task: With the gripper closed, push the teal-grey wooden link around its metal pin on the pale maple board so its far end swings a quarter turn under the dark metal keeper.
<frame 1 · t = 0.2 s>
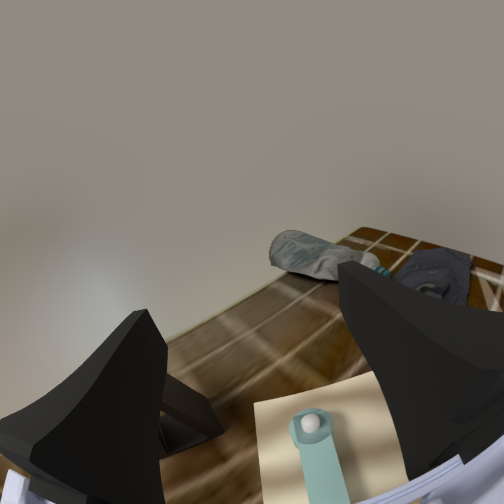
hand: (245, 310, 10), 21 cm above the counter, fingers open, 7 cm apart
link: (324, 480, 15), point 3 cm above the counter, hinge at 90.0°
dark grey cloth: (430, 292, 37), on the counter
phone stand: (182, 430, 26), on the counter
keeper board: (378, 458, 17), on the counter
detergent: (329, 277, 48), on the counter
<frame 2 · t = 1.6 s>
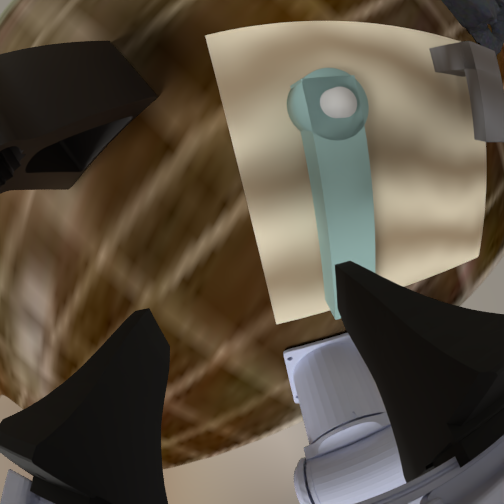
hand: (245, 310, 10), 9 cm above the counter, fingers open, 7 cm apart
link: (345, 203, 15), point 3 cm above the counter, hinge at 90.0°
phone stand: (87, 114, 14), on the counter
keeper board: (392, 162, 17), on the counter
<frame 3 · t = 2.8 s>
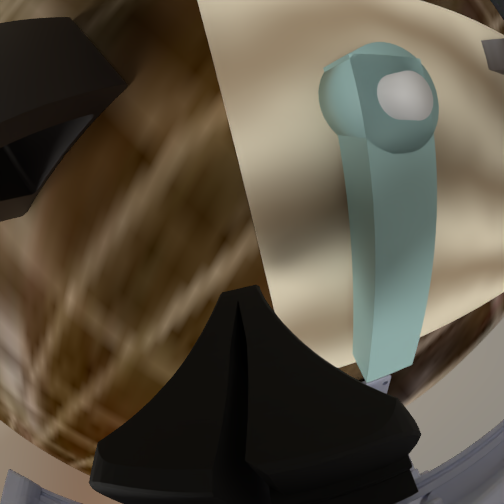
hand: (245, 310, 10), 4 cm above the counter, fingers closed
link: (398, 244, 10), point 3 cm above the counter, hinge at 90.0°
phone stand: (40, 116, 9), on the counter
keeper board: (443, 180, 12), on the counter
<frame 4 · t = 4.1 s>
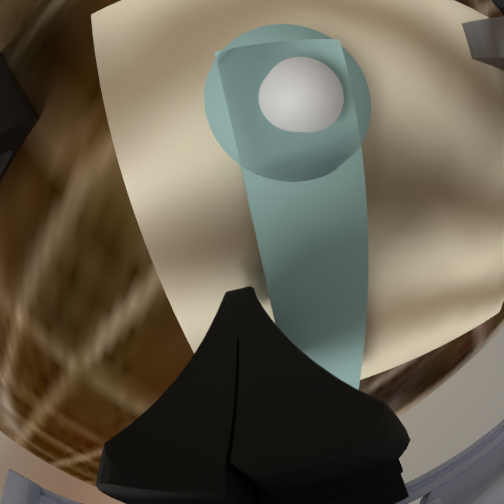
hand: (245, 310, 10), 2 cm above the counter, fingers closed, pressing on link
link: (316, 292, 9), point 3 cm above the counter, hinge at 89.9°, touching gripper
keeper board: (405, 199, 11), on the counter
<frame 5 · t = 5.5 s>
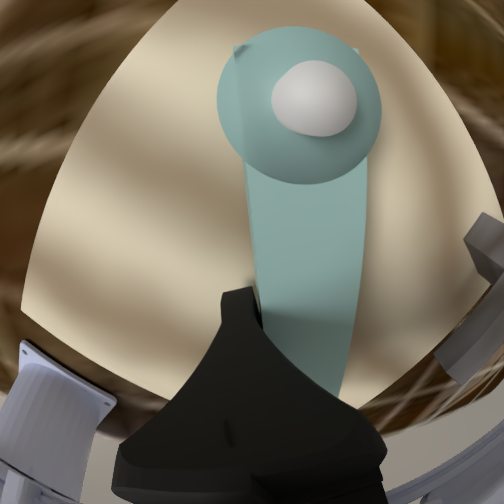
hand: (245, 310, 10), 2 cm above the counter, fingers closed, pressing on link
link: (306, 297, 9), point 3 cm above the counter, hinge at 44.9°, touching gripper
keeper board: (304, 279, 12), on the counter
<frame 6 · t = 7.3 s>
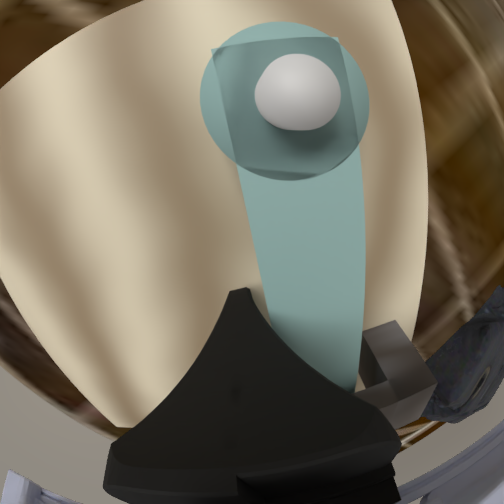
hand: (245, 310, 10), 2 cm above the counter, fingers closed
link: (312, 293, 8), point 3 cm above the counter, hinge at 1.6°, touching gripper
dark grey cloth: (467, 367, 20), on the counter
keeper board: (189, 270, 11), on the counter
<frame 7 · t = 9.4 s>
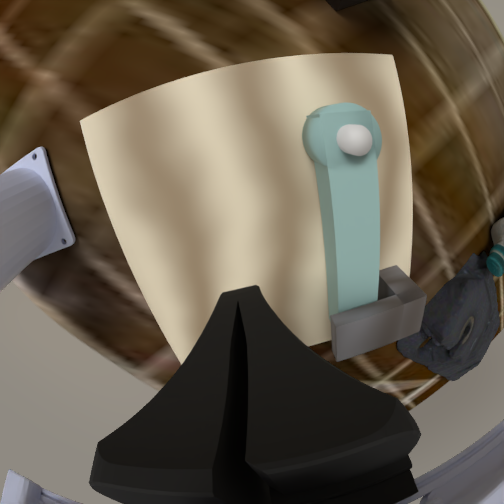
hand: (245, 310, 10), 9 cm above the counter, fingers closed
link: (353, 233, 16), point 3 cm above the counter, hinge at 1.4°
dark grey cloth: (457, 325, 27), on the counter
keeper board: (276, 227, 19), on the counter
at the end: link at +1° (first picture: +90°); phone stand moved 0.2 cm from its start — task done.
